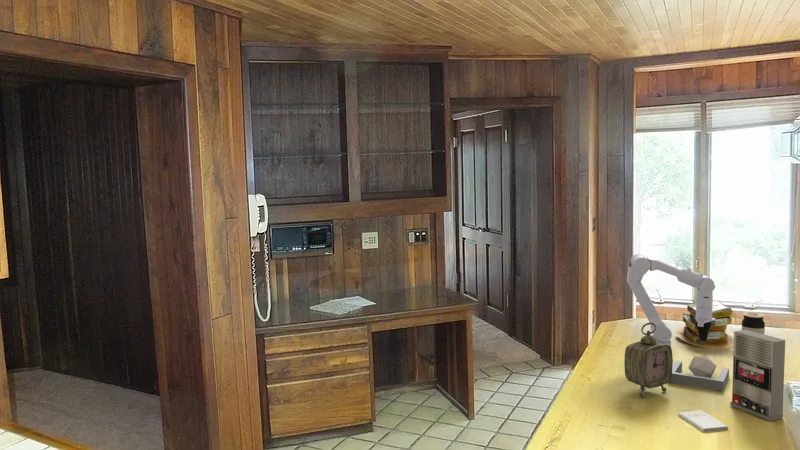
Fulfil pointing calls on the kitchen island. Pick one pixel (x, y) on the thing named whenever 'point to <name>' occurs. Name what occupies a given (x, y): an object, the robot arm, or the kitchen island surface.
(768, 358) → the cassette tape recorder
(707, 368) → the die
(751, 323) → the travel mug
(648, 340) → the tabletop clock
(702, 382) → the grey bracket
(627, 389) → the kitchen island surface
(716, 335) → the stack of yellow books
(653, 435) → the kitchen island surface
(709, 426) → the external hard drive
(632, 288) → the robot arm
